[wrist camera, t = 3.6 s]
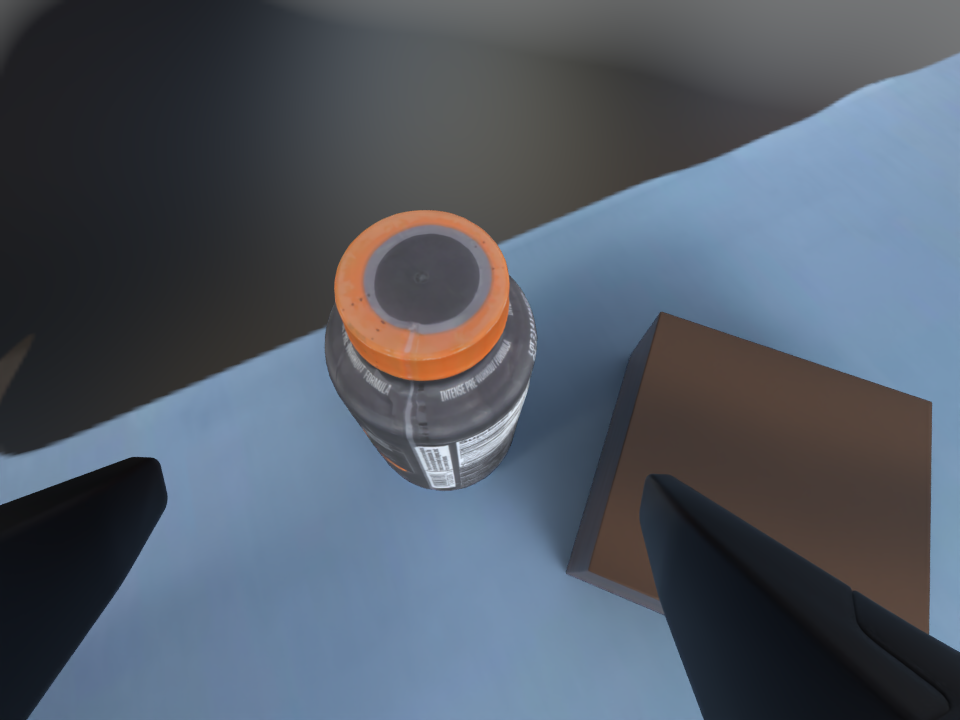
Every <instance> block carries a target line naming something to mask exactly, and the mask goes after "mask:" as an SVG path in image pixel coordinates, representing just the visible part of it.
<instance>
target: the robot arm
mask: <svg viewBox="0 0 960 720" xmlns="http://www.w3.org/2000/svg"><path fill="white" fill-rule="evenodd" d="M166 505H167V491H166V486H165V482H164V478H163V473H162V469H161V465H160V463H159V461H158V460H157V459H155V458H150V457H131V458H128V459H125V460H122V461H120V462H117V463H114V464H111V465H109V466H106V467H103V468H100V469H98V470H95V471H92V472H90V473H87V474H84V475H81V476H79V477H76V478H73V479H70V480H68V481H65V482H62V483H60V484H57V485H54V486H51V487H49V488H46V489H43V490H40V491H38V492H35V493H32V494H30V495H27V496H24V497H21V498H19V499H16V500H13V501H10V502H8V503H5V504H2V505H0V720H27V719H28V717H29V716H30V714H31V713H32V711H33V710H34V709H35V707H36V706H37V704H38V703H39V701H40V700H41V699H42V697H43V696H44V694H45V693H46V692H47V690H48V689H49V687H50V686H51V684H52V683H53V682H54V680H55V679H56V677H57V676H58V674H59V673H60V672H61V670H62V669H63V667H64V666H65V665H66V663H67V662H68V660H69V659H70V657H71V656H72V655H73V653H74V652H75V650H76V649H77V647H78V646H79V645H80V643H81V642H82V640H83V639H84V638H85V636H86V635H87V633H88V632H89V630H90V629H91V628H92V626H93V625H94V623H95V622H96V620H97V619H98V618H99V616H100V615H101V613H102V612H103V611H104V609H105V608H106V606H107V605H108V603H109V602H110V601H111V599H112V598H113V596H114V595H115V593H116V592H117V590H118V589H119V587H120V586H121V584H122V583H123V581H124V579H125V578H126V576H127V574H128V573H129V571H130V569H131V568H132V566H133V564H134V562H135V561H136V559H137V557H138V555H139V554H140V552H141V550H142V548H143V547H144V545H145V543H146V541H147V540H148V538H149V536H150V534H151V533H152V531H153V529H154V527H155V526H156V524H157V522H158V520H159V519H160V517H161V515H162V513H163V512H164V510H165V508H166ZM639 519H640V525H641V529H642V533H643V537H644V541H645V545H646V549H647V553H648V557H649V561H650V565H651V569H652V573H653V577H654V581H655V585H656V589H657V593H658V596H659V600H660V603H661V606H662V609H663V612H664V614H665V617H666V620H667V622H668V625H669V628H670V630H671V633H672V636H673V638H674V641H675V644H676V646H677V649H678V652H679V654H680V657H681V660H682V662H683V665H684V668H685V670H686V673H687V676H688V678H689V681H690V684H691V686H692V689H693V692H694V694H695V697H696V700H697V702H698V705H699V708H700V710H701V713H702V716H703V718H704V720H960V652H958V651H957V650H955V649H953V648H951V647H950V646H948V645H946V644H944V643H943V642H941V641H939V640H937V639H936V638H934V637H932V636H930V635H929V634H927V633H925V632H923V631H922V630H920V629H918V628H917V627H915V626H913V625H912V624H910V623H908V622H907V621H905V620H903V619H902V618H900V617H898V616H897V615H895V614H894V613H892V612H890V611H889V610H887V609H885V608H884V607H882V606H880V605H879V604H877V603H876V602H874V601H872V600H871V599H869V598H868V597H866V596H864V595H863V594H861V593H860V592H858V591H856V590H854V591H852V589H851V587H850V586H848V585H847V584H845V583H843V582H842V581H840V580H839V579H837V578H835V577H834V576H832V575H831V574H829V573H827V572H826V571H824V570H823V569H821V568H819V567H818V566H816V565H815V564H813V563H811V562H810V561H808V560H807V559H805V558H803V557H802V556H800V555H799V554H797V553H795V552H794V551H792V550H791V549H789V548H787V547H786V546H784V545H783V544H781V543H779V542H778V541H776V540H775V539H773V538H771V537H770V536H768V535H766V534H765V533H763V532H762V531H760V530H758V529H757V528H755V527H754V526H752V525H750V524H749V523H747V522H746V521H744V520H742V519H741V518H739V517H738V516H736V515H734V514H733V513H731V512H730V511H728V510H726V509H725V508H723V507H722V506H720V505H718V504H717V503H715V502H714V501H712V500H710V499H709V498H707V497H706V496H704V495H702V494H701V493H699V492H698V491H696V490H694V489H693V488H691V487H690V486H688V485H686V484H685V483H683V482H682V481H680V480H678V479H677V478H675V477H673V476H672V475H669V474H649V475H648V476H647V477H646V479H645V483H644V488H643V494H642V500H641V505H640V512H639Z"/></svg>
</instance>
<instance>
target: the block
mask: <svg viewBox="0 0 960 720" xmlns="http://www.w3.org/2000/svg"><path fill="white" fill-rule="evenodd" d="M931 443H932V402H930V401H927V400H924V399H921V398H918V397H915V396H912V395H909V394H906V393H903V392H900V391H897V390H894V389H891V388H888V387H885V386H882V385H879V384H876V383H873V382H870V381H867V380H864V379H861V378H858V377H855V376H852V375H849V374H846V373H843V372H840V371H837V370H834V369H831V368H828V367H825V366H822V365H820V364H817V363H814V362H811V361H808V360H805V359H802V358H799V357H796V356H793V355H790V354H787V353H784V352H781V351H778V350H775V349H772V348H769V347H766V346H763V345H760V344H757V343H754V342H751V341H748V340H745V339H742V338H739V337H736V336H733V335H730V334H727V333H724V332H721V331H718V330H715V329H712V328H709V327H706V326H703V325H700V324H697V323H694V322H691V321H688V320H685V319H682V318H679V317H676V316H673V315H670V314H667V313H664V312H660V313H659V315H658V316H657V318H656V319H655V320H654V322H653V323H652V325H651V326H650V328H649V329H648V330H647V332H646V333H645V335H644V336H643V338H642V339H641V341H640V342H639V343H638V345H637V346H636V348H635V349H634V351H633V352H632V354H631V355H630V358H629V362H628V365H627V368H626V372H625V375H624V379H623V382H622V385H621V389H620V392H619V395H618V399H617V402H616V405H615V409H614V412H613V416H612V419H611V422H610V426H609V429H608V432H607V436H606V439H605V442H604V446H603V449H602V453H601V456H600V459H599V463H598V466H597V469H596V473H595V476H594V479H593V483H592V486H591V490H590V493H589V496H588V500H587V503H586V506H585V510H584V513H583V516H582V520H581V523H580V527H579V530H578V533H577V537H576V540H575V543H574V547H573V550H572V553H571V557H570V560H569V564H568V567H567V570H566V574H568V575H570V576H573V577H575V578H577V579H580V580H582V581H585V582H587V583H589V584H592V585H594V586H596V587H599V588H601V589H604V590H606V591H608V592H611V593H613V594H615V595H618V596H620V597H622V598H625V599H627V600H630V601H632V602H634V603H637V604H639V605H641V606H644V607H646V608H649V609H651V610H653V611H656V612H658V613H660V614H663V615H665V614H664V612H663V609H662V606H661V603H660V600H659V596H658V593H657V589H656V585H655V581H654V577H653V573H652V569H651V565H650V561H649V557H648V553H647V549H646V545H645V541H644V537H643V533H642V529H641V525H640V519H639V512H640V505H641V500H642V494H643V488H644V483H645V479H646V477H647V476H648V475H649V474H669V475H672V476H673V477H675V478H677V479H678V480H680V481H682V482H683V483H685V484H686V485H688V486H690V487H691V488H693V489H694V490H696V491H698V492H699V493H701V494H702V495H704V496H706V497H707V498H709V499H710V500H712V501H714V502H715V503H717V504H718V505H720V506H722V507H723V508H725V509H726V510H728V511H730V512H731V513H733V514H734V515H736V516H738V517H739V518H741V519H742V520H744V521H746V522H747V523H749V524H750V525H752V526H754V527H755V528H757V529H758V530H760V531H762V532H763V533H765V534H766V535H768V536H770V537H771V538H773V539H775V540H776V541H778V542H779V543H781V544H783V545H784V546H786V547H787V548H789V549H791V550H792V551H794V552H795V553H797V554H799V555H800V556H802V557H803V558H805V559H807V560H808V561H810V562H811V563H813V564H815V565H816V566H818V567H819V568H821V569H823V570H824V571H826V572H827V573H829V574H831V575H832V576H834V577H835V578H837V579H839V580H840V581H842V582H843V583H845V584H847V585H848V586H850V587H851V589H852V591H854V590H856V591H858V592H860V593H861V594H863V595H864V596H866V597H868V598H869V599H871V600H872V601H874V602H876V603H877V604H879V605H880V606H882V607H884V608H885V609H887V610H889V611H890V612H892V613H894V614H895V615H897V616H898V617H900V618H902V619H903V620H905V621H907V622H908V623H910V624H912V625H913V626H915V627H917V628H918V629H920V630H922V631H923V632H925V633H927V634H929V603H930V523H931Z"/></svg>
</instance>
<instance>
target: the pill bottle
mask: <svg viewBox="0 0 960 720" xmlns="http://www.w3.org/2000/svg"><path fill="white" fill-rule="evenodd" d="M334 288H335V289H334V291H335V301H336V302H335V304H334V306H333V308H332V311H331V313H330V316H329V319H328V323H327V327H326V334H325V357H326V364H327V367H328V371H329V375H330V378H331V380H332V382H333V385H334V387H335V389H336V391H337V393H338V394H339V396H340V398H341V399H342V401H343V402H344V404H345V405H346V407H347V408H348V410H349V411H350V412H351V414H352V415H353V417H354V418H355V419H356V421H357V422H358V423H359V425H360V426H361V427H362V429H363V430H364V432H365V433H366V434H367V436H368V437H369V439H370V440H371V442H372V443H373V445H374V446H375V447H376V448H377V450H378V452H379V453H380V454H381V455H382V456H383V458H384V459H385V460H386V461H387V463H388V464H389V465H390V466H391V467H392V468H393V469H394V470H395V471H396V472H397V473H398V474H399V475H401V476H402V477H403V478H404V479H406V480H407V481H409V482H411V483H413V484H415V485H418V486H420V487H423V488H426V489H431V490H438V491H451V490H457V489H462V488H465V487H468V486H471V485H473V484H475V483H477V482H479V481H481V480H482V479H484V478H485V477H487V476H488V475H489V474H490V473H491V472H492V471H493V470H495V468H496V467H497V466H498V465H499V464H500V463H501V461H502V460H503V459H504V457H505V456H506V454H507V452H508V450H509V448H510V446H511V443H512V440H513V436H514V432H515V429H516V426H517V422H518V418H519V415H520V412H521V409H522V406H523V403H524V400H525V398H526V395H527V391H528V388H529V382H530V377H531V374H532V369H533V366H534V362H535V357H536V350H537V333H536V326H535V321H534V316H533V313H532V310H531V308H530V305H529V303H528V301H527V299H526V297H525V295H524V293H523V292H522V290H521V288H520V287H519V286H518V284H517V283H516V282H515V281H514V280H513V279H512V278H511V276H510V275H509V273H508V268H507V264H506V261H505V258H504V256H503V254H502V252H501V250H500V248H499V247H498V245H497V244H496V243H495V241H494V240H493V239H492V238H491V237H490V236H489V235H488V234H487V233H486V232H485V231H484V230H483V229H481V228H480V227H478V226H477V225H476V224H474V223H472V222H470V221H469V220H467V219H465V218H463V217H460V216H457V215H455V214H452V213H448V212H442V211H434V210H416V211H408V212H403V213H398V214H395V215H392V216H390V217H387V218H385V219H383V220H380V221H379V222H377V223H375V224H373V225H372V226H371V227H369V228H367V229H366V230H364V231H363V232H362V233H361V234H360V235H359V236H358V237H357V238H356V239H355V240H354V241H353V242H352V243H351V244H350V245H349V247H348V248H347V250H346V251H345V253H344V255H343V257H342V259H341V261H340V263H339V265H338V268H337V272H336V277H335V287H334Z"/></svg>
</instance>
